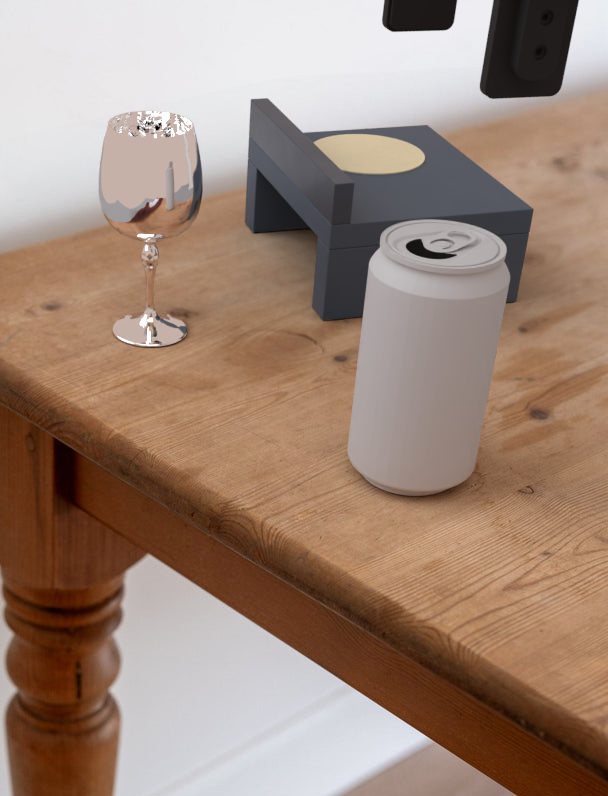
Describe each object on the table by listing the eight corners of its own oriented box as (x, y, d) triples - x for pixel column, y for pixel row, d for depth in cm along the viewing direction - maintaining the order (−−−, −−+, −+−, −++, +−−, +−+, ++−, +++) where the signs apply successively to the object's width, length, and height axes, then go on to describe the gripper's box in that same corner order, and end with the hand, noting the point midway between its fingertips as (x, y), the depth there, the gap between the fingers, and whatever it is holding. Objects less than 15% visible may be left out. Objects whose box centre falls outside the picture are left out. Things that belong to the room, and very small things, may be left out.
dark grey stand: (416, 208, 94) (432, 88, 89) (516, 302, 82) (541, 169, 76) (244, 222, 91) (250, 98, 86) (322, 321, 79) (335, 184, 73)
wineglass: (214, 321, 78) (221, 118, 71) (172, 360, 74) (175, 148, 67) (129, 301, 80) (128, 101, 73) (83, 338, 76) (77, 130, 68)
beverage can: (319, 462, 66) (342, 234, 58) (406, 424, 69) (438, 203, 62) (412, 519, 62) (449, 282, 54) (499, 475, 65) (545, 246, 58)
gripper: (809, -487, 37) (658, 122, 47) (529, -467, 50) (459, 7, 61) (575, -507, 35) (471, 131, 46) (348, -480, 48) (307, 10, 59)
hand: (464, 60), depth 53 cm, fingers open, 9 cm apart
